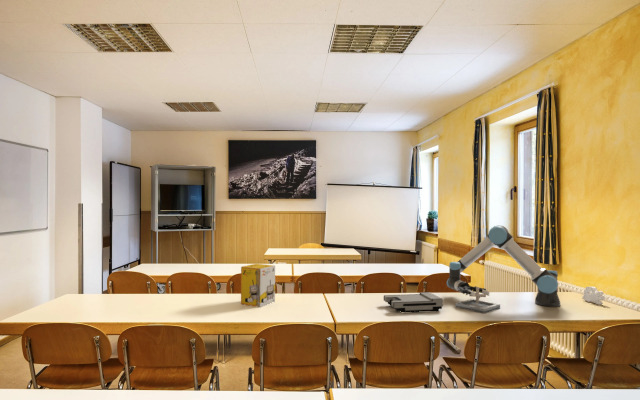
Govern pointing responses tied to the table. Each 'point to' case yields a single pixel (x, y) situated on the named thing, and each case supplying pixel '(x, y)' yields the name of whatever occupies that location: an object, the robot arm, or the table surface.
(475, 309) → the carrier plate
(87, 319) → the table surface
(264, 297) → the packaging box
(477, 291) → the pipe connector
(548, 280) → the robot arm
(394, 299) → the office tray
